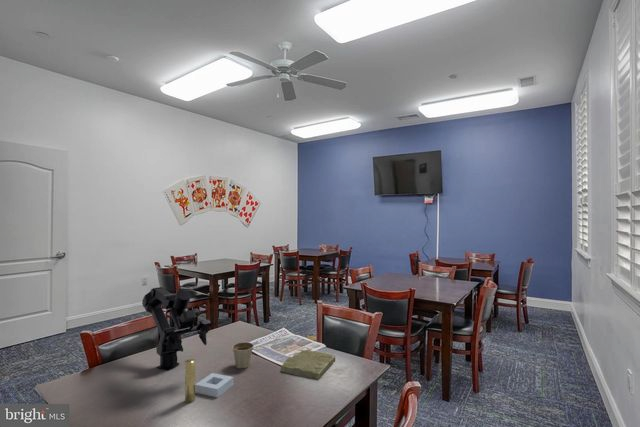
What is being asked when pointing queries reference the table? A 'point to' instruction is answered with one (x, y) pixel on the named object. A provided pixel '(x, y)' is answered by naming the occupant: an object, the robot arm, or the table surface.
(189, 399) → the pin
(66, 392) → the table surface
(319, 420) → the table surface
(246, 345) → the flower pot
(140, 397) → the table surface
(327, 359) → the decorative tile
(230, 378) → the socket block
